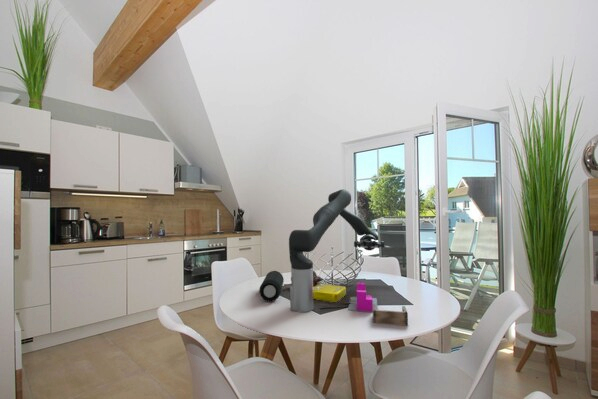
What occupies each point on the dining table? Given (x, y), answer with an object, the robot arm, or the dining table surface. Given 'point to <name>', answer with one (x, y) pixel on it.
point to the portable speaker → (271, 286)
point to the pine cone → (316, 279)
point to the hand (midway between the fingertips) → (369, 245)
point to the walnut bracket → (390, 316)
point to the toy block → (363, 298)
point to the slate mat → (354, 306)
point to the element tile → (328, 292)
